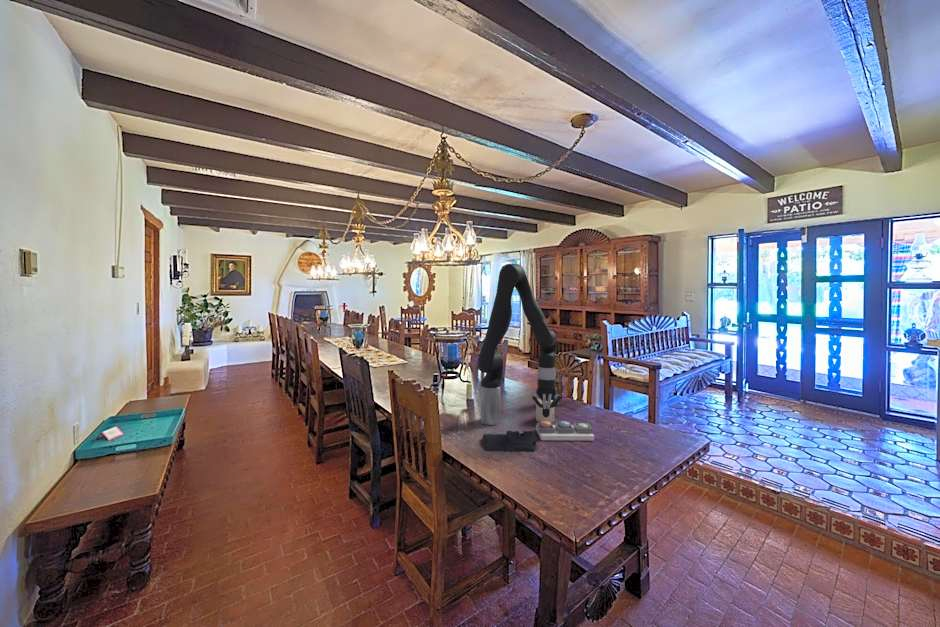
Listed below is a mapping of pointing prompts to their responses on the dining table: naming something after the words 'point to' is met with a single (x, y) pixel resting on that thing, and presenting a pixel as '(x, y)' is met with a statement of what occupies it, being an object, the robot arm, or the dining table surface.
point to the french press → (558, 388)
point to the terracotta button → (545, 424)
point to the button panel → (565, 432)
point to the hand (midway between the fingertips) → (545, 416)
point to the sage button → (582, 425)
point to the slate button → (564, 424)
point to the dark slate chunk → (510, 442)
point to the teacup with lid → (540, 416)
